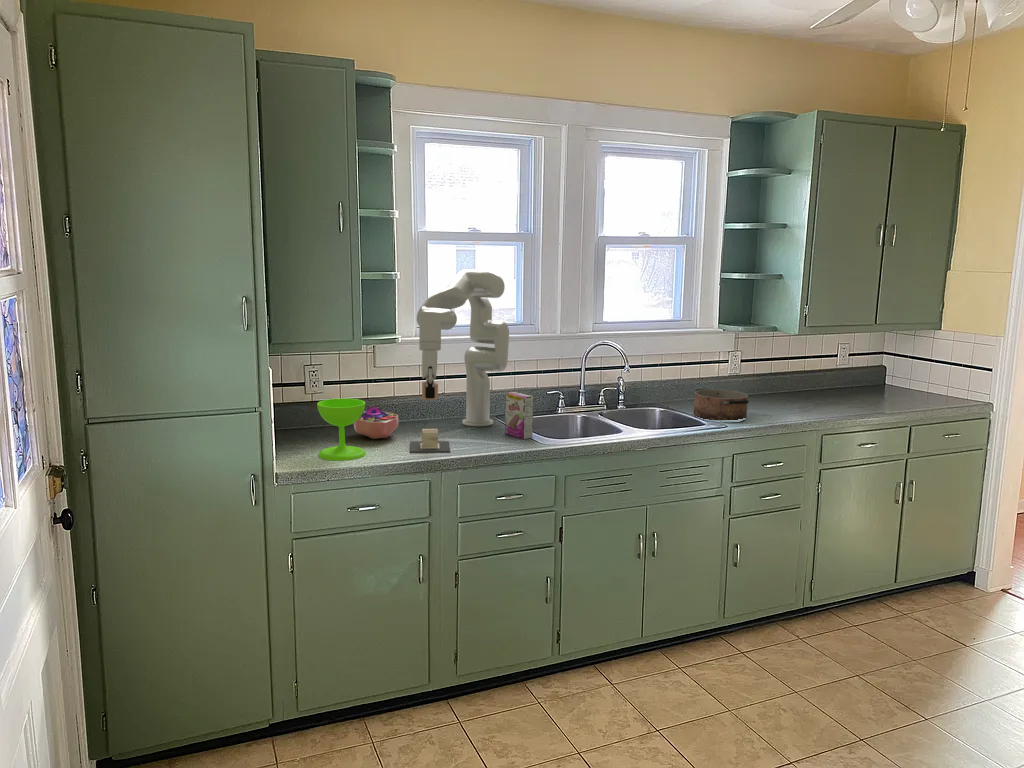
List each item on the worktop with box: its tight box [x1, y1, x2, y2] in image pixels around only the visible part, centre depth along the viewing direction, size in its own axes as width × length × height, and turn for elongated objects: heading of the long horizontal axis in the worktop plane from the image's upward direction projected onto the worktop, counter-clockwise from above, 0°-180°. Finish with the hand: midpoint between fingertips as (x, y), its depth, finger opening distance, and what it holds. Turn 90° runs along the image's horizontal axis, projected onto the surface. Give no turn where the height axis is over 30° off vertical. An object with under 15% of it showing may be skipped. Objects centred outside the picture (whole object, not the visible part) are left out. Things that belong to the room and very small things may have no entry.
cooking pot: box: [693, 388, 750, 420], centre depth 338 cm, size 30×22×11 cm
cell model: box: [353, 405, 399, 440], centre depth 290 cm, size 17×20×11 cm
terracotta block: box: [421, 381, 439, 401], centre depth 274 cm, size 6×6×6 cm
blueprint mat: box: [409, 440, 451, 454], centre depth 277 cm, size 14×14×1 cm
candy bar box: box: [504, 391, 534, 440], centre depth 296 cm, size 11×5×16 cm, turn 41°
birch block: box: [421, 428, 439, 448], centre depth 277 cm, size 6×6×6 cm
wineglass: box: [316, 397, 367, 462], centre depth 264 cm, size 16×16×18 cm
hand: (429, 396), depth 274 cm, fingers closed on terracotta block, 5 cm apart
